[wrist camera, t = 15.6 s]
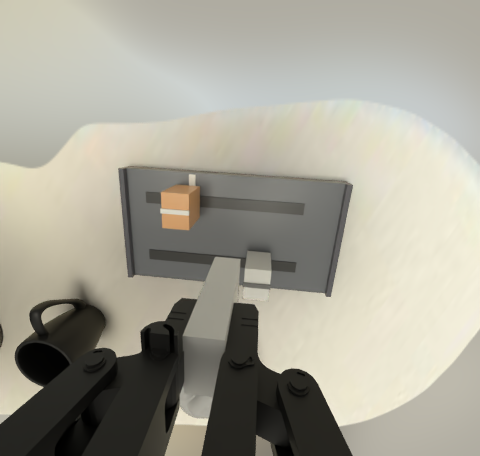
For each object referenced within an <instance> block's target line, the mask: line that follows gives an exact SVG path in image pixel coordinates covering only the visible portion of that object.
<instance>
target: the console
mask: <svg viewBox="0 0 480 456" xmlns="http://www.w3.org/2000/svg"><path fill="white" fill-rule="evenodd" d="M118 170H119V181H120V192H121V203H122V214H123V225H124V236H125V247H126V258H127V269H128V277H133V276H134V275H144V276H154V277H164V278H174V279H185V280H195V281H205V280H206V278H207V275H208V273H209V270H210V268H211V266H212V263H213V261H214V258H215V257H224V258H236V259H241V260H240V275H239V285H243V282H244V274H245V265H246V258H247V251H256V252H267V253H271V270H272V272H271V281H270V284H271V286H270V288H277V289H287V290H297V291H308V292H318V293H325V295H326V297H331V292H332V287H333V282H334V277H335V272H336V267H337V262H338V257H339V252H340V247H341V242H342V237H343V232H344V227H345V222H346V217H347V212H348V207H349V202H350V197H351V192H352V187H353V185H352V184H350V183H348V182H346V181H332V180H318V179H304V178H289V177H275V176H261V175H247V174H233V173H219V172H204V171H190V170H176V169H162V168H148V167H134V166H128V167H123V168H118ZM174 185H190V186H200V218H199V219H198V220H197V221H196V223H195V224H194V225H193V226H192V227H191V229H190V230H179V229H167V228H162V213H160V209H161V192H162V191H164V190H166V189H168V188H170V187H172V186H174Z"/></svg>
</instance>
